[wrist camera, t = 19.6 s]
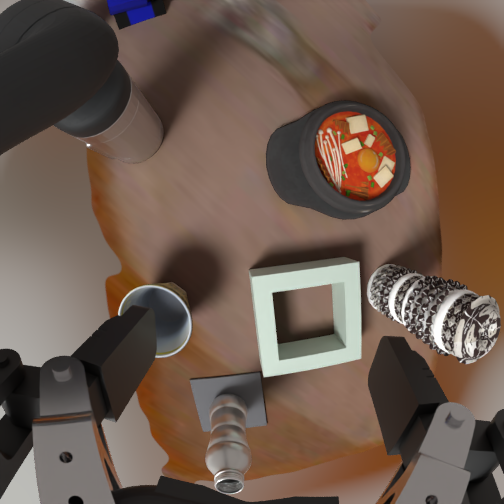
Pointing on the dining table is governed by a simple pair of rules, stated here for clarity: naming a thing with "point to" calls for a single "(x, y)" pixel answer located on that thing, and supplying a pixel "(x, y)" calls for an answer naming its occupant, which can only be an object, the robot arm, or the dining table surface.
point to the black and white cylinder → (436, 311)
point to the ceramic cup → (164, 314)
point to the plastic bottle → (228, 443)
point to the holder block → (315, 349)
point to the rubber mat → (238, 385)
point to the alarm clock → (134, 11)
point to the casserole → (339, 160)
